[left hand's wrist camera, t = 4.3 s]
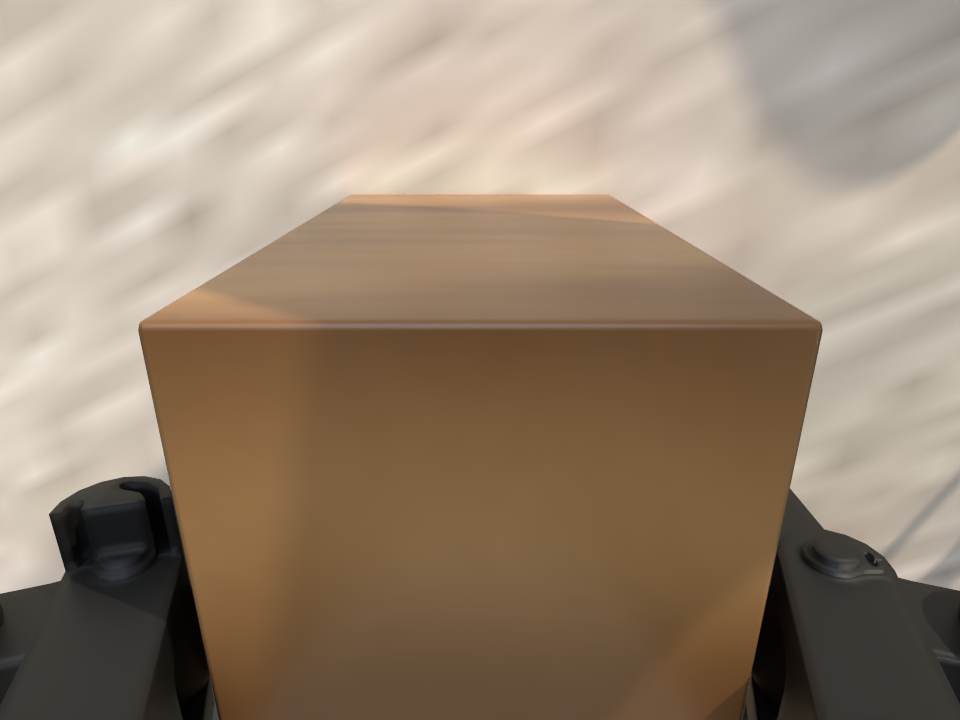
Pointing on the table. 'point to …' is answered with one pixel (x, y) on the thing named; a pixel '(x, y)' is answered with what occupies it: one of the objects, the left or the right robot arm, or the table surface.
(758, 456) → the beam
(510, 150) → the table surface
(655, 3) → the table surface
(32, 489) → the table surface
